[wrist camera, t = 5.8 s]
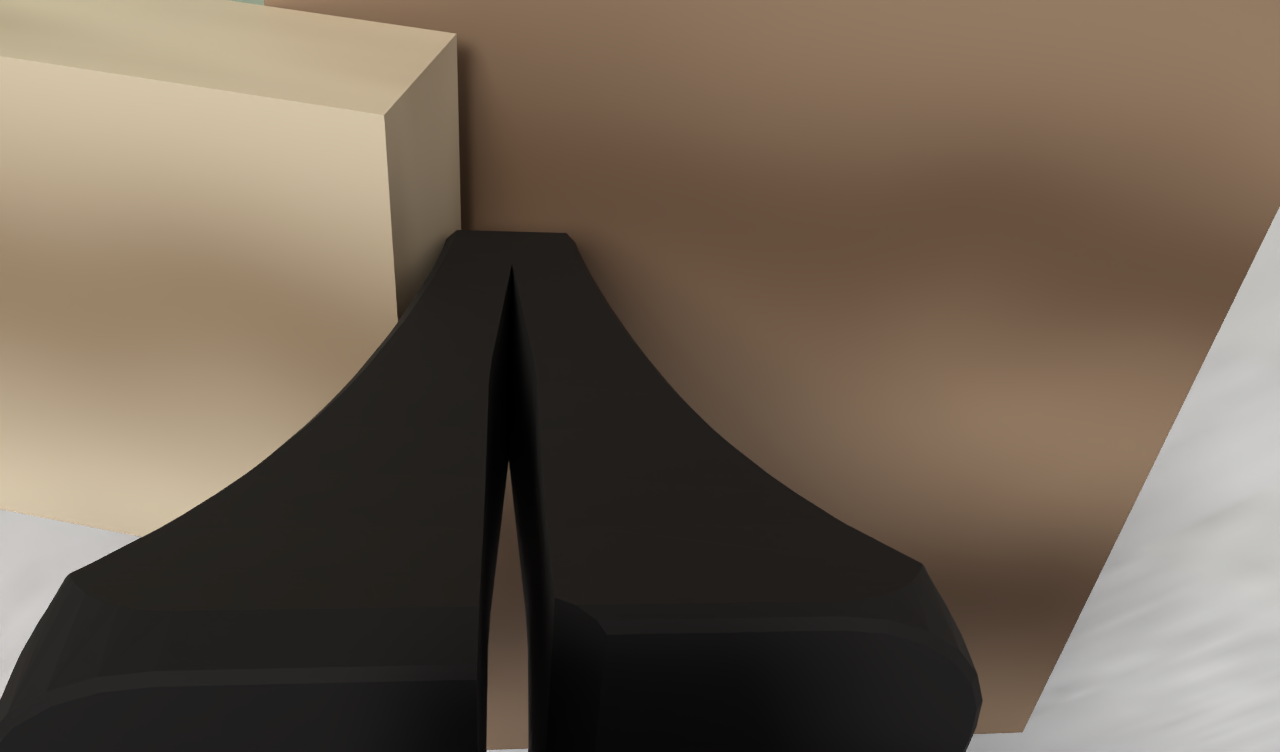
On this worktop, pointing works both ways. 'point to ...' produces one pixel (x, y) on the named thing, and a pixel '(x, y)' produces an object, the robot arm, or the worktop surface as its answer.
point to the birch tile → (201, 237)
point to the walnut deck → (891, 256)
